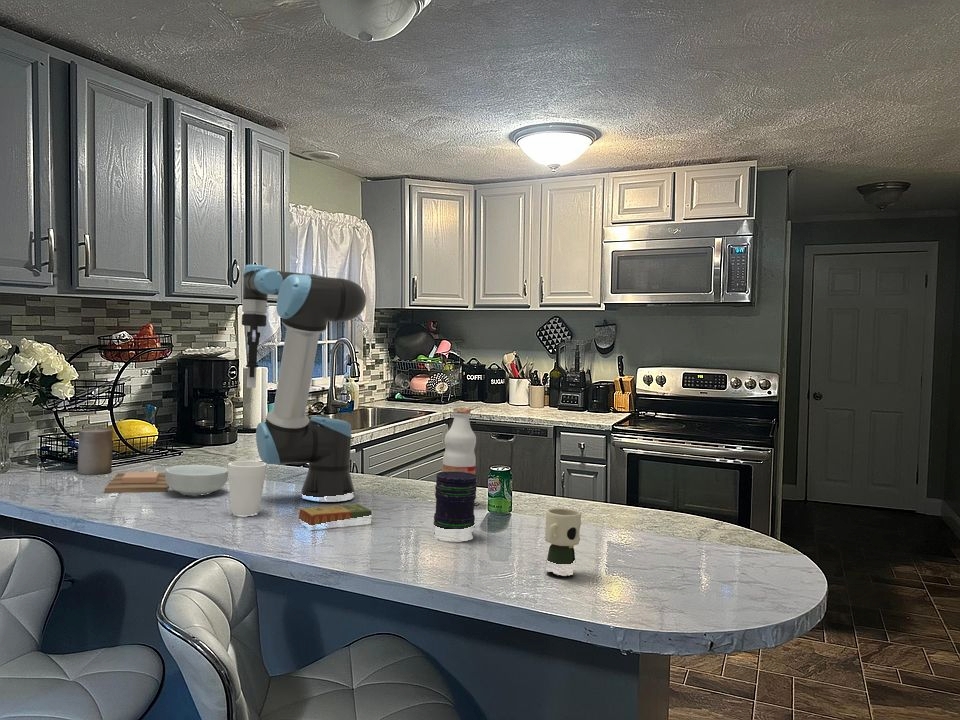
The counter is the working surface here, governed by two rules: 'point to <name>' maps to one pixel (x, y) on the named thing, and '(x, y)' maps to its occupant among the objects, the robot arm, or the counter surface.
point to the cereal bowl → (196, 478)
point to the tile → (140, 477)
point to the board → (136, 485)
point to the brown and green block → (332, 513)
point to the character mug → (562, 534)
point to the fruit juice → (460, 444)
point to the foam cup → (246, 486)
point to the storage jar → (455, 500)
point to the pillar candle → (95, 451)
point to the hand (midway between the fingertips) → (251, 387)
